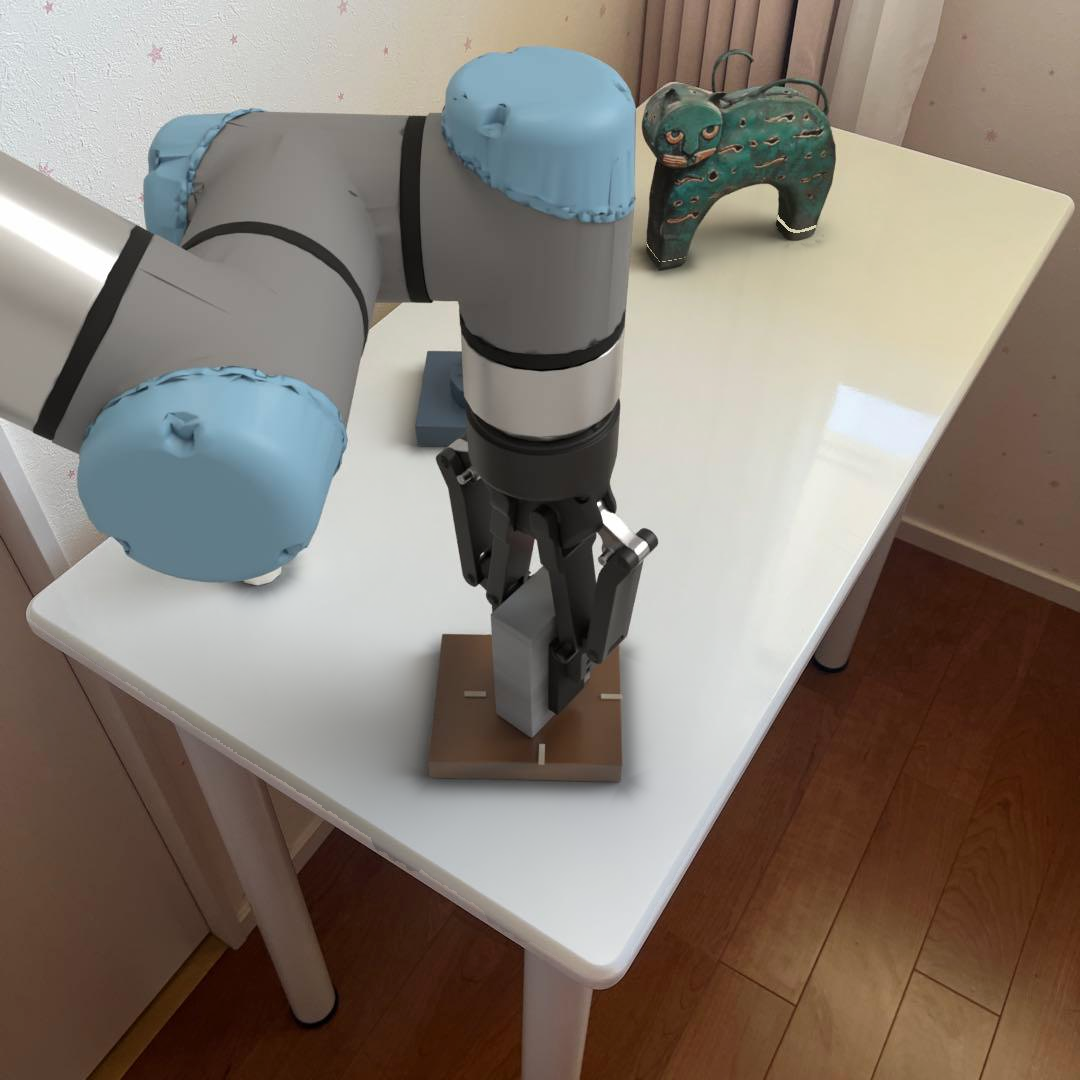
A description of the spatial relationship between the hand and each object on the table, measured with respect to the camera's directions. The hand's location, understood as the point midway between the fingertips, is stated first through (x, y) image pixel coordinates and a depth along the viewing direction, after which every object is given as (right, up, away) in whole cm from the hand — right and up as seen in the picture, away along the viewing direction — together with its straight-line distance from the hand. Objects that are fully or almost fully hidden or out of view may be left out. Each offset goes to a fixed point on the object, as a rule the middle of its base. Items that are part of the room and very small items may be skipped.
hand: (543, 682), depth 70 cm
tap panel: (-1, -2, +3) cm, 4 cm away
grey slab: (0, -1, +1) cm, 2 cm away
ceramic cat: (+19, +39, +41) cm, 60 cm away
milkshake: (-21, +6, +11) cm, 25 cm away
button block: (-4, +20, +24) cm, 32 cm away
